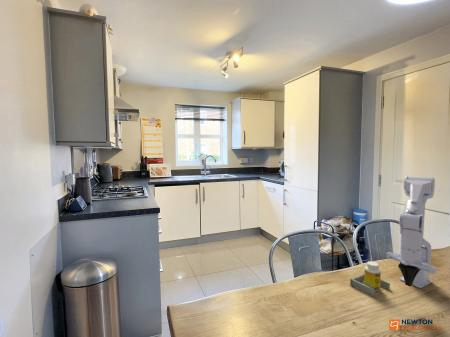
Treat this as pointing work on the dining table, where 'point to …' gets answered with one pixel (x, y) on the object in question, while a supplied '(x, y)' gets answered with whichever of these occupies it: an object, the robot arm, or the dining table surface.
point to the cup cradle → (369, 290)
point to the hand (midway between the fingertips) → (408, 284)
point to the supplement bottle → (372, 275)
